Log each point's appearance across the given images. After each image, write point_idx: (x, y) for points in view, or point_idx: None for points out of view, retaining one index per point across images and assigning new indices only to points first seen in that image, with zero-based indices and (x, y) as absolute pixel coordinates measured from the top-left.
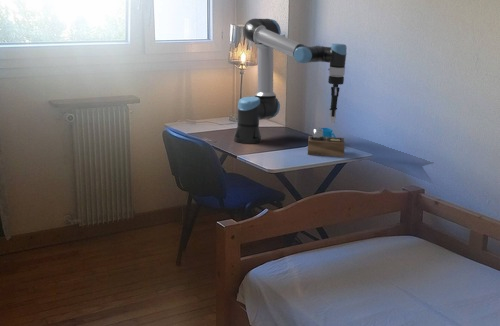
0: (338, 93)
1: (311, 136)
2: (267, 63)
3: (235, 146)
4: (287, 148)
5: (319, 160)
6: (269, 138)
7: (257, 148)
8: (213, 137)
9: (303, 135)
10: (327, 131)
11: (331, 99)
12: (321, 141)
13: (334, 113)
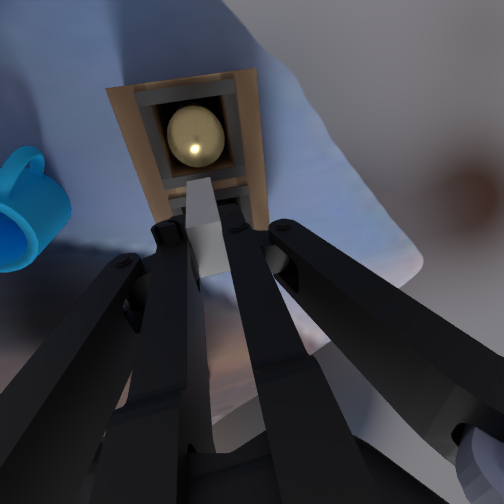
0: (358, 449)
1: None
2: None
3: (245, 376)
4: (205, 291)
5: (327, 170)
6: None
7: (243, 343)
8: None
9: None
10: (21, 213)
11: (124, 383)
12: (261, 200)
13: (243, 216)
